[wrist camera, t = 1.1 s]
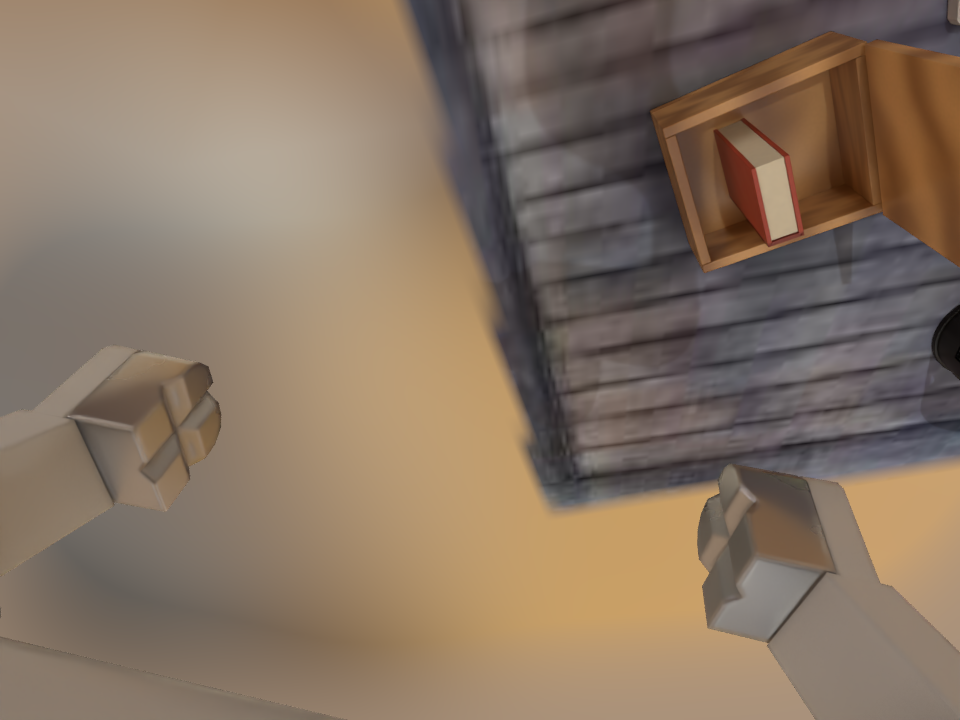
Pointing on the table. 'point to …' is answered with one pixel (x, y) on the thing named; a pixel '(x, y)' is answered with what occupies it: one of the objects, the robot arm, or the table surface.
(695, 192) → the pine box
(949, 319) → the french press
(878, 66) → the pine box lid
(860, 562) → the robot arm
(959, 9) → the handheld gaming console
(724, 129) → the book
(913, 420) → the table surface
